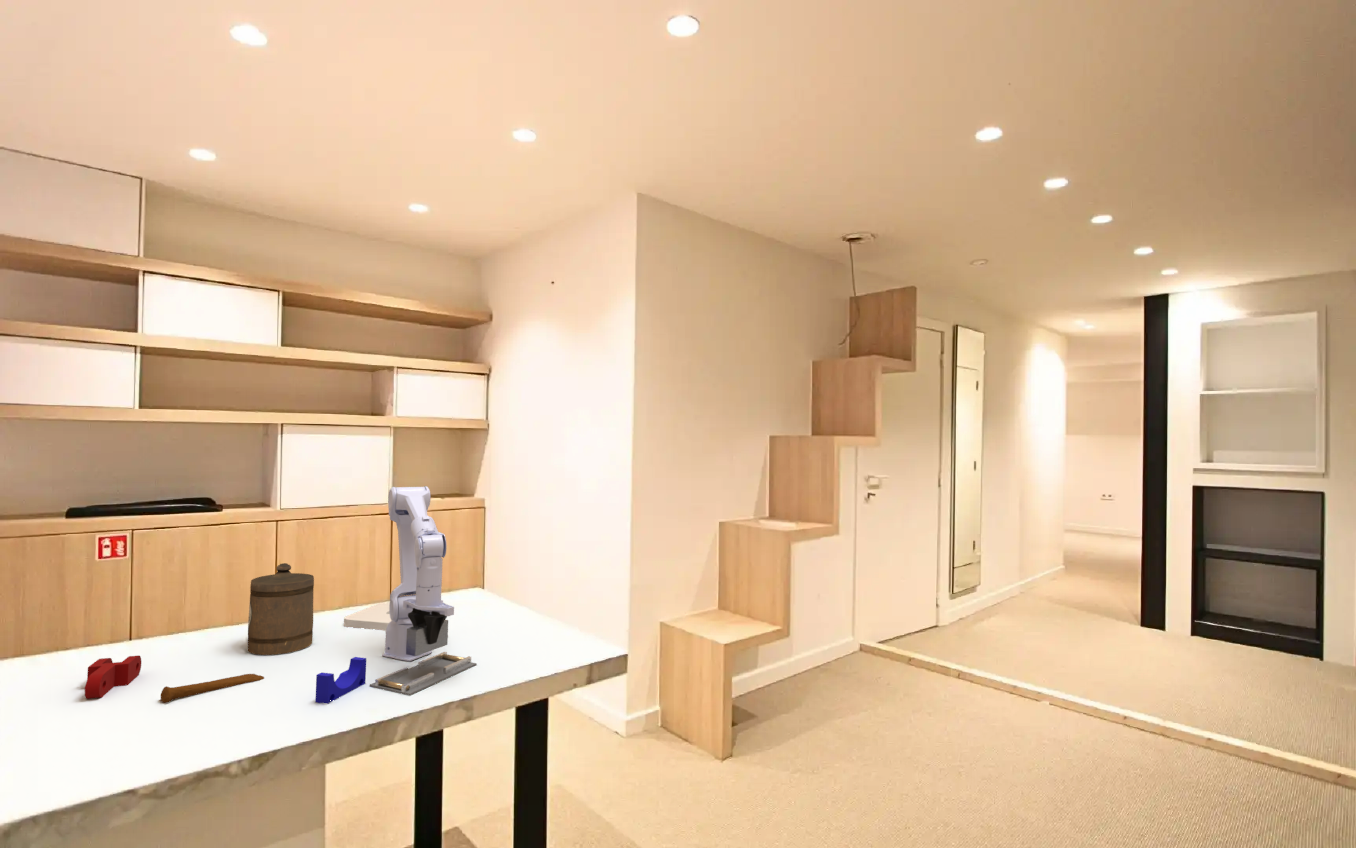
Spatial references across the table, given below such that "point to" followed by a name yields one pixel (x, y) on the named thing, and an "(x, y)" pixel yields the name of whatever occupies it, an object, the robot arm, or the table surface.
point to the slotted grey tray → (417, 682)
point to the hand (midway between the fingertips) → (426, 642)
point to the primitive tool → (206, 687)
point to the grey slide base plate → (417, 673)
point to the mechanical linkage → (110, 675)
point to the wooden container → (280, 612)
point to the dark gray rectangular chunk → (424, 639)
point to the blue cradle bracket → (340, 681)
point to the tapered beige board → (370, 617)
